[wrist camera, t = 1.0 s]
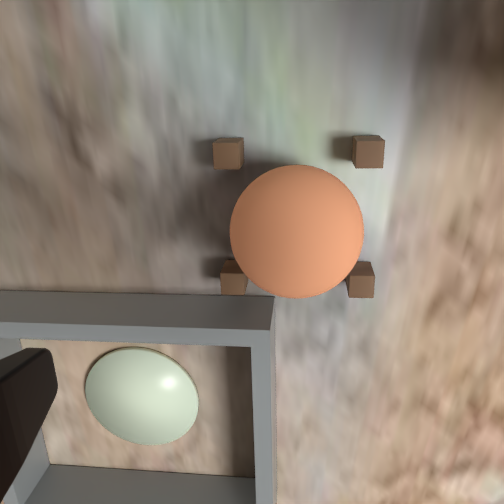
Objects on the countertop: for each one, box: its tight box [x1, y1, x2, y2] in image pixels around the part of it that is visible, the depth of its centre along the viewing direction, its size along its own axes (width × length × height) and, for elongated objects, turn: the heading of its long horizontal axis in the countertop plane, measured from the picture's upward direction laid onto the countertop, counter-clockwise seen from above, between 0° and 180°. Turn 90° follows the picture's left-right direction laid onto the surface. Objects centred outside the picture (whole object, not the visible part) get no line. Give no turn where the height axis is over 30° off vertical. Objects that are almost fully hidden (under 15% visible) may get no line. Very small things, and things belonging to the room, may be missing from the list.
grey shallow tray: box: [0, 290, 277, 504], centre depth 23 cm, size 14×12×3 cm
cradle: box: [212, 136, 385, 298], centre depth 19 cm, size 6×6×2 cm
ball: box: [230, 165, 364, 298], centre depth 17 cm, size 5×5×5 cm
